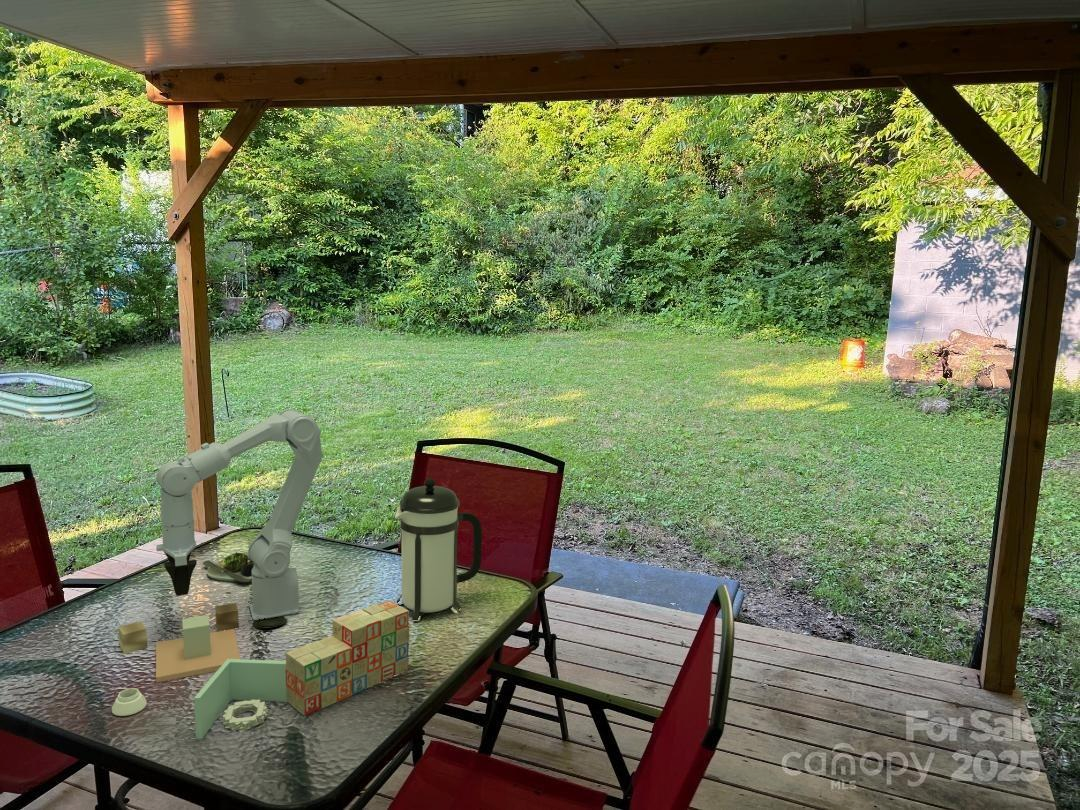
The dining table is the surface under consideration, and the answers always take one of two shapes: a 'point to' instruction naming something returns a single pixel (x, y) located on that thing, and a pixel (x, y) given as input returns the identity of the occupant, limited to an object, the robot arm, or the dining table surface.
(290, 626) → the dining table surface
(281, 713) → the dining table surface
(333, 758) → the dining table surface
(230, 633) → the tan flat square slab
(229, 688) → the right angle wall
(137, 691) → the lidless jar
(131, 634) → the pale oak block
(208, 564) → the salad plate
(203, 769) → the dining table surface
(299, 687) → the stack of blocks
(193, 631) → the sage block
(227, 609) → the walnut block
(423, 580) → the coffee press
